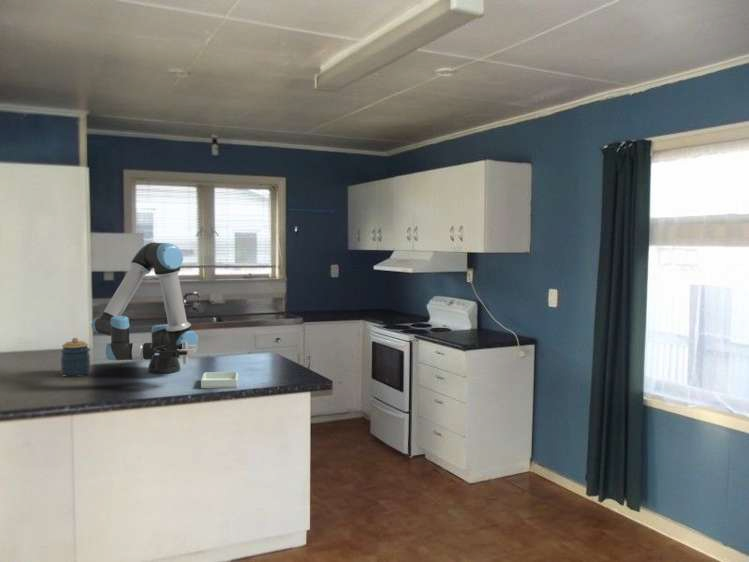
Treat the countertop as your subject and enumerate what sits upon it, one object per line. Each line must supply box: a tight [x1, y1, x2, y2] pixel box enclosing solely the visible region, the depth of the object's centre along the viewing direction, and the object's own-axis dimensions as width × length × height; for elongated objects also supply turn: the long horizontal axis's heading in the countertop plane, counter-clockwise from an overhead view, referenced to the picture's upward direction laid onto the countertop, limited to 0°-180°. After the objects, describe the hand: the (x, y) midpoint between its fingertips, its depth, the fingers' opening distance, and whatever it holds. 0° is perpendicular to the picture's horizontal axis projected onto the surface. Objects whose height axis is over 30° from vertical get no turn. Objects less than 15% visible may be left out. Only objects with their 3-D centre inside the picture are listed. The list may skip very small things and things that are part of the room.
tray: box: [200, 371, 239, 389], centre depth 295 cm, size 16×16×4 cm
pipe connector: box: [177, 341, 189, 365], centre depth 289 cm, size 10×10×10 cm
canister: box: [59, 337, 91, 377], centre depth 306 cm, size 13×13×18 cm
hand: (195, 350), depth 290 cm, fingers closed on pipe connector, 9 cm apart
